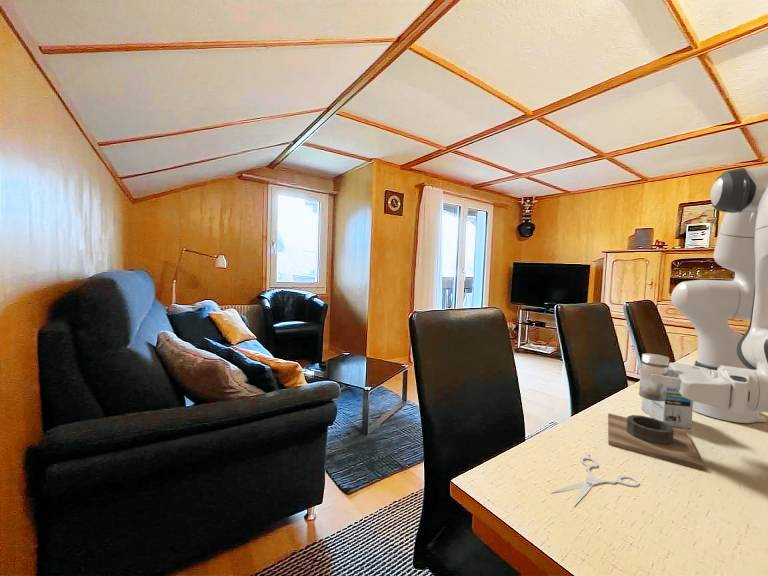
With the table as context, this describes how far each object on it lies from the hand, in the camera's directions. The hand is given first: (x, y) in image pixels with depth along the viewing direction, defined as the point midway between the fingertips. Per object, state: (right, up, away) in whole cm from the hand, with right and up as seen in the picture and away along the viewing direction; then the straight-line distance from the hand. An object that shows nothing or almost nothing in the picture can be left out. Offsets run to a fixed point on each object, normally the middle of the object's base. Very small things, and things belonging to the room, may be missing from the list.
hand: (649, 373), depth 78 cm
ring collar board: (0, -16, 0) cm, 16 cm away
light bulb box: (+14, -16, +13) cm, 25 cm away
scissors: (-25, -17, -16) cm, 34 cm away
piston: (+1, -6, 0) cm, 6 cm away
